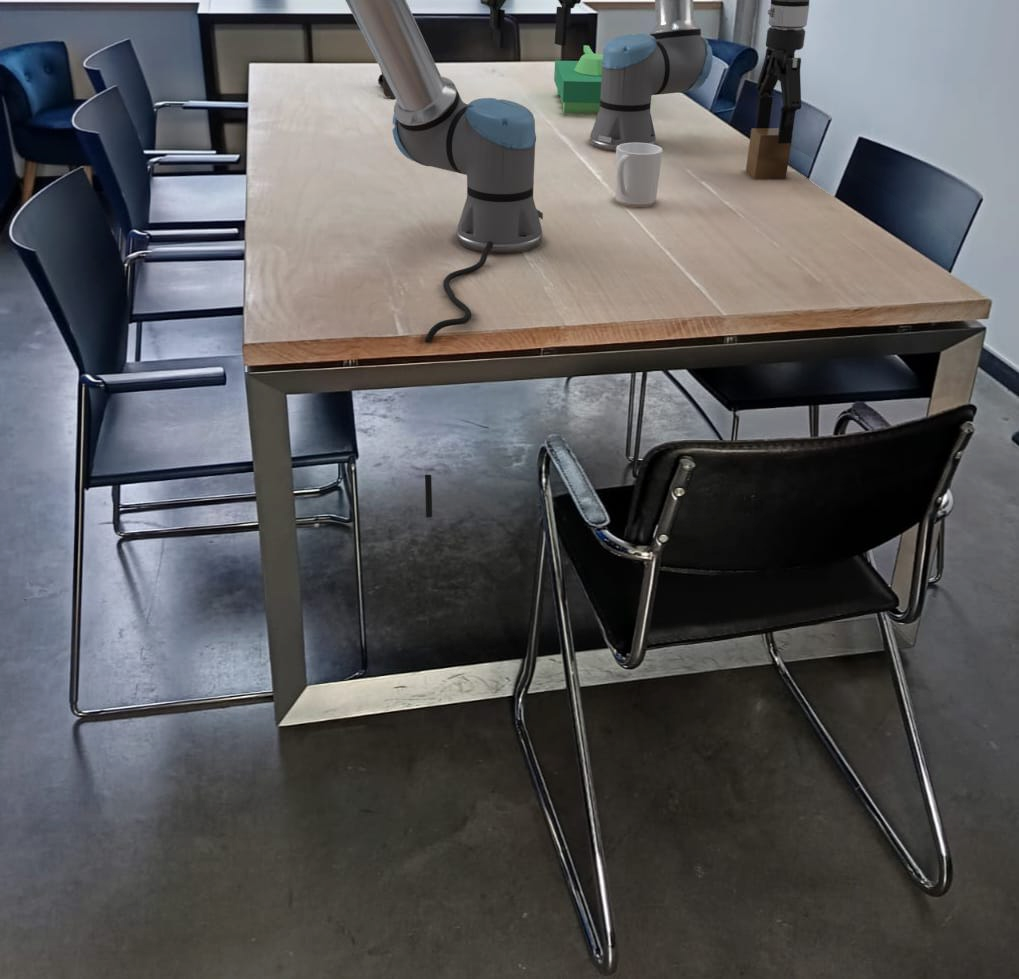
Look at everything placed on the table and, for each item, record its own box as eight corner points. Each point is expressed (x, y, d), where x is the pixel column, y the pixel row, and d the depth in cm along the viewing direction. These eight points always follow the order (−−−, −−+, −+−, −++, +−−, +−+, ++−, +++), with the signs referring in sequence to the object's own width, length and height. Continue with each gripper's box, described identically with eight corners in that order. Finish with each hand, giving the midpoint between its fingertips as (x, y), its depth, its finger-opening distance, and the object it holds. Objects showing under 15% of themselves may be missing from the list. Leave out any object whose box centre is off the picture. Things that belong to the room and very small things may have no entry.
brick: (776, 170, 239) (782, 127, 234) (786, 178, 234) (792, 134, 229) (745, 171, 238) (751, 128, 233) (754, 179, 233) (760, 135, 228)
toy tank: (617, 42, 302) (635, 66, 272) (613, 88, 309) (631, 117, 279) (553, 40, 301) (564, 65, 271) (551, 87, 308) (562, 116, 278)
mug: (629, 191, 223) (633, 140, 217) (666, 200, 218) (671, 148, 212) (597, 203, 215) (601, 150, 210) (635, 213, 210) (640, 159, 205)
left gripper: (582, -82, 202) (574, 40, 213) (463, -85, 191) (461, 45, 202) (605, -80, 197) (595, 46, 207) (484, -82, 185) (481, 51, 196)
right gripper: (749, 19, 231) (737, 122, 241) (790, 37, 209) (776, 149, 220) (783, 18, 231) (770, 122, 242) (828, 36, 210) (811, 149, 221)
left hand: (529, 46), depth 205 cm, fingers open, 13 cm apart
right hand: (772, 135), depth 231 cm, fingers open, 13 cm apart
